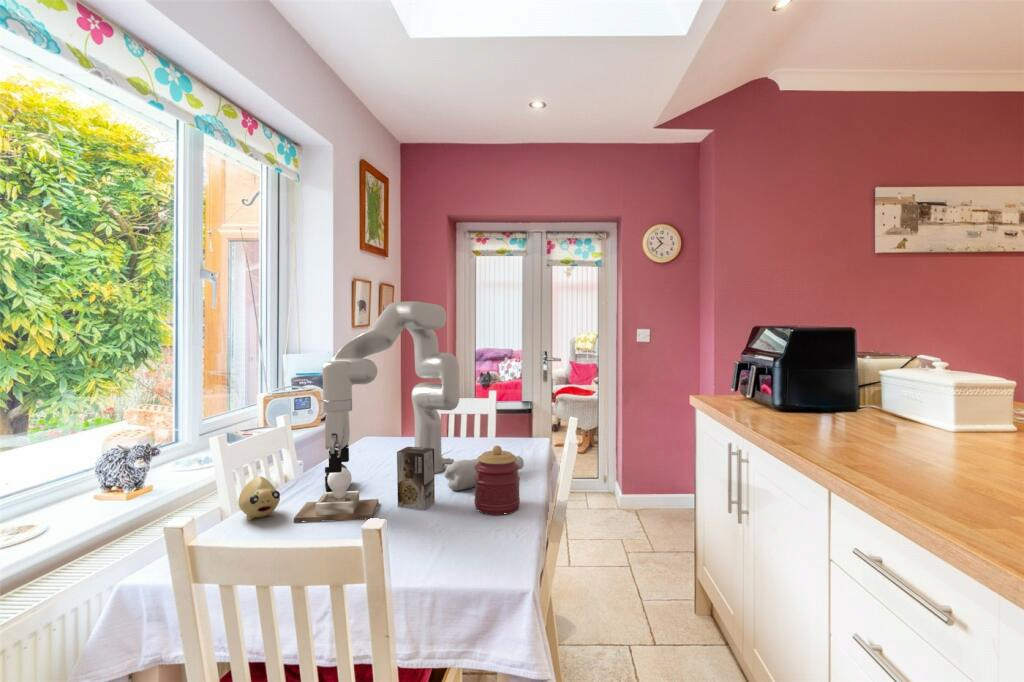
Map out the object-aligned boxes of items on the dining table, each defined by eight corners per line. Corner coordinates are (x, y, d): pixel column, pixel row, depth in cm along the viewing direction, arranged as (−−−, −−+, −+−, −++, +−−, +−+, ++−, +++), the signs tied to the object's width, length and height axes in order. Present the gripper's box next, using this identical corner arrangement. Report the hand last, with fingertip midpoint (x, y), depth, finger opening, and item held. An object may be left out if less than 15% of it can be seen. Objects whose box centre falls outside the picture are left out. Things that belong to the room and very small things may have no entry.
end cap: (350, 491, 153) (350, 470, 153) (326, 494, 150) (326, 472, 150) (347, 482, 162) (347, 462, 162) (324, 485, 159) (324, 464, 159)
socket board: (378, 503, 142) (378, 488, 142) (372, 518, 130) (372, 503, 130) (306, 506, 139) (306, 491, 139) (293, 522, 127) (293, 506, 127)
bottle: (463, 485, 148) (532, 469, 168) (454, 457, 151) (522, 445, 172) (448, 496, 153) (516, 479, 174) (439, 469, 157) (507, 455, 177)
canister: (485, 519, 130) (485, 453, 129) (467, 504, 141) (467, 443, 141) (528, 510, 136) (528, 448, 135) (507, 496, 147) (507, 438, 147)
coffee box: (435, 503, 142) (435, 448, 142) (424, 510, 136) (424, 453, 136) (408, 499, 145) (408, 445, 145) (396, 506, 139) (396, 450, 139)
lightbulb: (324, 511, 132) (324, 471, 132) (331, 503, 138) (331, 464, 138) (348, 510, 132) (348, 470, 132) (354, 503, 139) (354, 464, 139)
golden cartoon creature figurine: (245, 529, 123) (244, 487, 123) (235, 515, 132) (234, 476, 132) (286, 519, 130) (286, 479, 129) (274, 507, 139) (274, 470, 139)
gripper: (331, 401, 142) (332, 458, 143) (315, 411, 125) (317, 477, 126) (357, 400, 143) (359, 457, 144) (345, 410, 126) (347, 476, 127)
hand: (339, 466), depth 135 cm, fingers open, 9 cm apart
